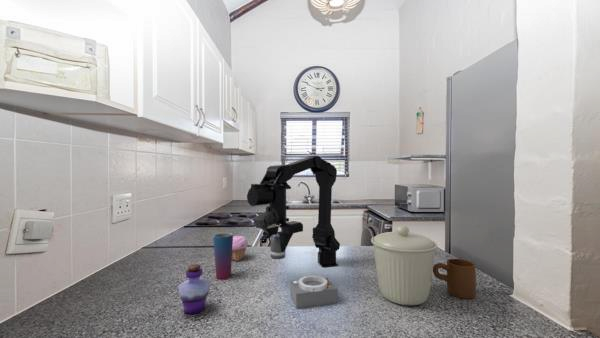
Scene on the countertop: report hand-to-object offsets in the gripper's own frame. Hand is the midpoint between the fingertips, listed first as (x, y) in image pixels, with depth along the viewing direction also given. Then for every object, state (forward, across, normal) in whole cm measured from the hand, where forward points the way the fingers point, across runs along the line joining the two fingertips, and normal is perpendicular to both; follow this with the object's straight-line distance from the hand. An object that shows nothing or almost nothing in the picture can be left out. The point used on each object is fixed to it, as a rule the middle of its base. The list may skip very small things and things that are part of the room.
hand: (278, 250), depth 89 cm
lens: (+2, 0, 0) cm, 2 cm away
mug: (+11, +43, +33) cm, 55 cm away
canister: (+11, +34, +20) cm, 41 cm away
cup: (+12, -18, -10) cm, 24 cm away
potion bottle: (+12, -4, -26) cm, 29 cm away
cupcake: (+12, -32, +4) cm, 34 cm away
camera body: (+11, +15, +1) cm, 19 cm away
